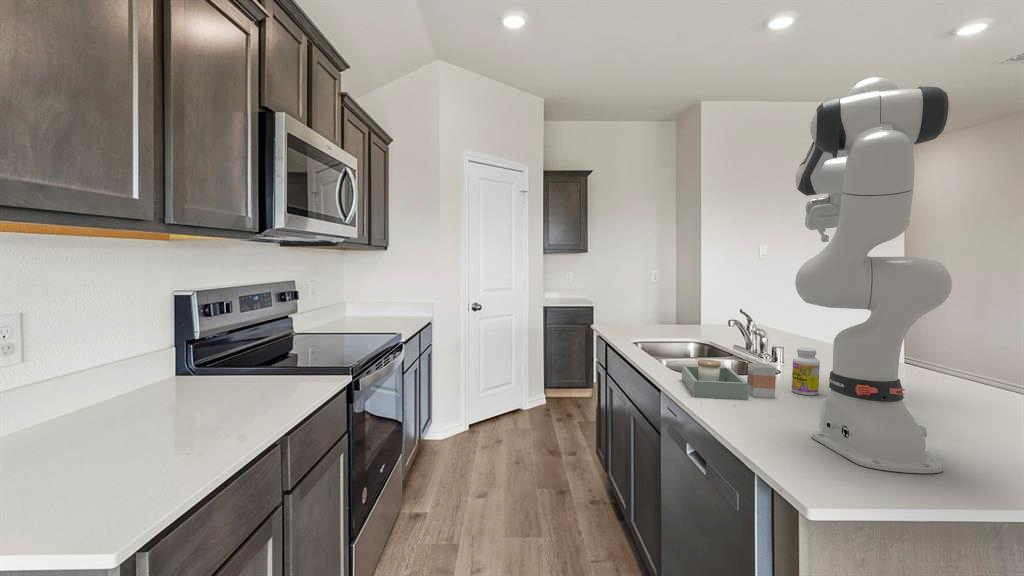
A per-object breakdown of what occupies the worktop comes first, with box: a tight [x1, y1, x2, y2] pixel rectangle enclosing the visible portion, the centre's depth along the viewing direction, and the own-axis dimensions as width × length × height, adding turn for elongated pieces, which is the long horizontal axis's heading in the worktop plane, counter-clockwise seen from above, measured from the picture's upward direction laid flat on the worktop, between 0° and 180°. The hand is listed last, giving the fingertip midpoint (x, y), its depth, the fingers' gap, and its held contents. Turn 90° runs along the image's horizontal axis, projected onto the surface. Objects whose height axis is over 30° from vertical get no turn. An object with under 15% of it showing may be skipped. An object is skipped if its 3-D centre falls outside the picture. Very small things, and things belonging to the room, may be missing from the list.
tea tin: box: [746, 362, 777, 399], centre depth 133 cm, size 6×6×9 cm
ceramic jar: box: [697, 359, 722, 382], centre depth 144 cm, size 6×6×7 cm
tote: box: [681, 365, 749, 401], centre depth 139 cm, size 20×14×5 cm
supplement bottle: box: [791, 347, 821, 396], centre depth 137 cm, size 7×7×13 cm
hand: (842, 239), depth 144 cm, fingers open, 8 cm apart
